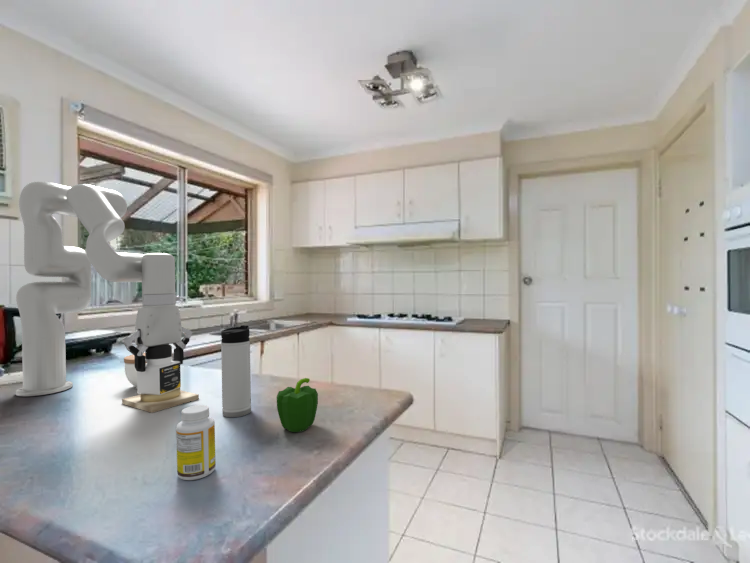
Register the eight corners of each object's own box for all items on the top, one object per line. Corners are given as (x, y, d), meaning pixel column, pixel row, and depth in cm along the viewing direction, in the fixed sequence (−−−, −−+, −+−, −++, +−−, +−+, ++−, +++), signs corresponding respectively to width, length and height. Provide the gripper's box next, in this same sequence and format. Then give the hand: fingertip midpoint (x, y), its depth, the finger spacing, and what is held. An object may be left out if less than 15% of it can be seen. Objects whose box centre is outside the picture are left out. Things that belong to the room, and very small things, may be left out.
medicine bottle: (160, 395, 95) (159, 347, 95) (136, 394, 96) (135, 346, 96) (181, 387, 102) (180, 342, 102) (158, 386, 103) (158, 342, 103)
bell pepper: (275, 438, 74) (274, 386, 74) (278, 422, 82) (277, 376, 82) (319, 433, 76) (318, 383, 76) (317, 419, 84) (316, 373, 84)
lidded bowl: (145, 379, 122) (145, 345, 122) (182, 380, 120) (181, 345, 120) (113, 391, 110) (112, 352, 110) (153, 392, 108) (152, 352, 108)
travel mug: (257, 410, 91) (256, 325, 91) (237, 419, 85) (235, 329, 85) (237, 406, 94) (236, 324, 94) (216, 415, 88) (214, 328, 88)
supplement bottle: (205, 461, 65) (204, 401, 65) (222, 471, 61) (221, 407, 61) (170, 474, 61) (169, 409, 61) (186, 486, 57) (185, 417, 57)
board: (122, 403, 98) (122, 393, 98) (168, 391, 108) (168, 382, 108) (151, 412, 90) (151, 401, 90) (198, 399, 100) (198, 388, 100)
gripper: (182, 299, 108) (183, 359, 108) (115, 302, 94) (116, 372, 94) (198, 299, 104) (199, 362, 104) (130, 303, 90) (132, 376, 90)
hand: (160, 367), depth 99 cm, fingers open, 9 cm apart
